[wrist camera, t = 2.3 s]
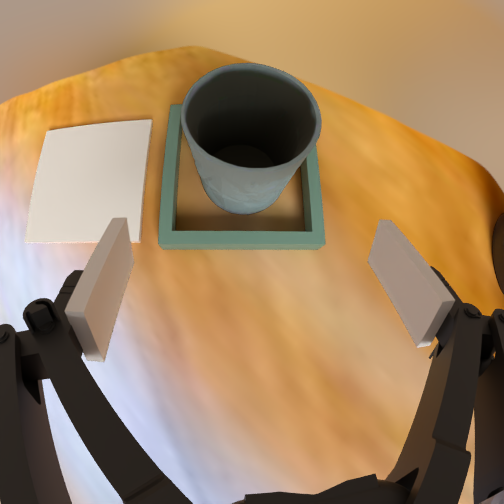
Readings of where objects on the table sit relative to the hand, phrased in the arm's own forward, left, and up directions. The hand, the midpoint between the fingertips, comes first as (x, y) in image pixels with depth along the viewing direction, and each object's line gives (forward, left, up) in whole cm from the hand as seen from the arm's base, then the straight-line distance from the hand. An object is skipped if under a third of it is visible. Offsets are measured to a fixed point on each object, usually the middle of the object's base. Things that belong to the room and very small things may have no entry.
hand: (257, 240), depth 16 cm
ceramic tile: (+17, -10, -15) cm, 25 cm away
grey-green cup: (0, -10, -15) cm, 18 cm away
